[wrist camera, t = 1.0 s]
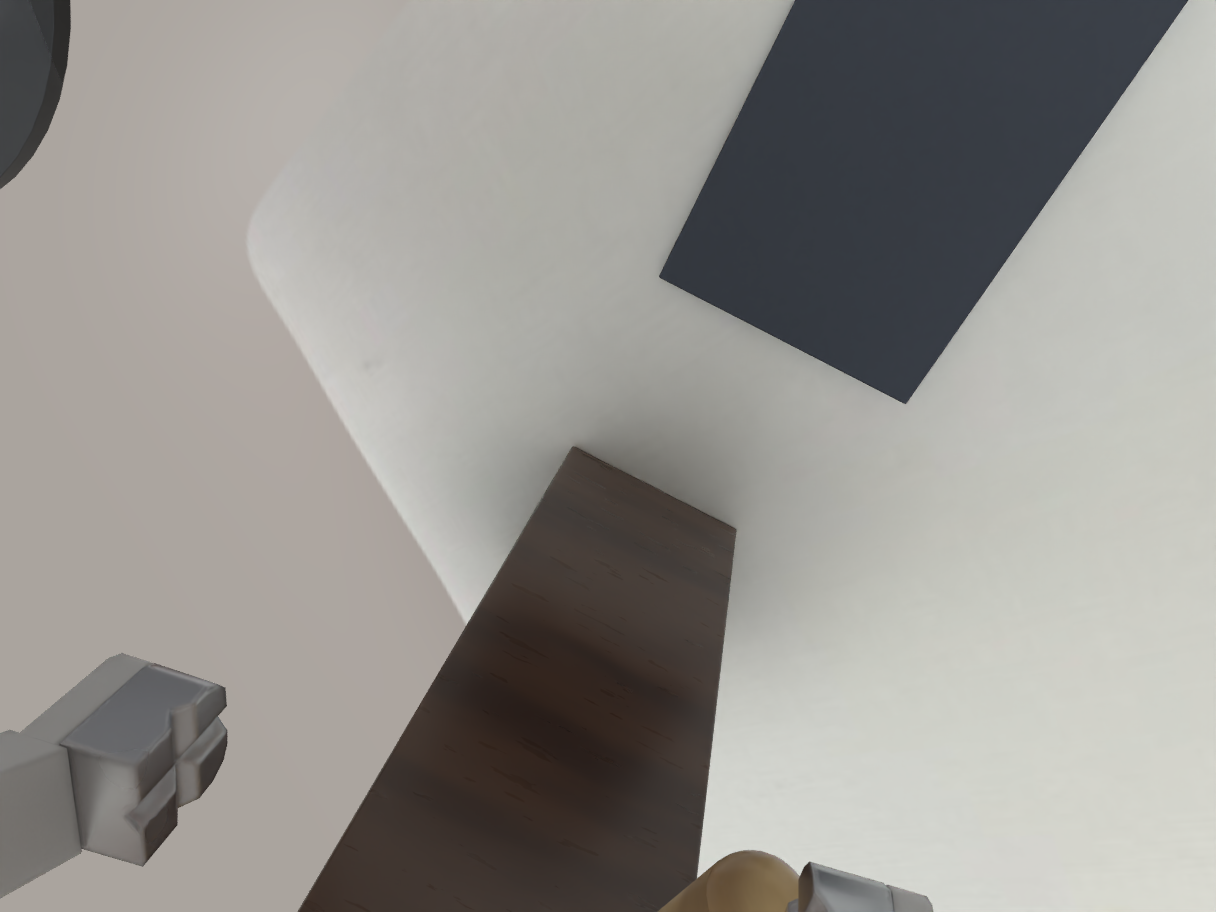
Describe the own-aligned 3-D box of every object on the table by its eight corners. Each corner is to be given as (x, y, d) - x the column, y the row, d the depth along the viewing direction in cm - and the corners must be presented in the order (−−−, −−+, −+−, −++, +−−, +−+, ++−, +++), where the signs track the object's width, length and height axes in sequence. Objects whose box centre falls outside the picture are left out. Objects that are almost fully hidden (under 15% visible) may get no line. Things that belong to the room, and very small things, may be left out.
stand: (572, 445, 40) (276, 945, 17) (737, 529, 40) (668, 1141, 17) (513, 566, 44) (202, 1115, 20) (664, 642, 44) (525, 1276, 21)
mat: (895, -202, 28) (896, -206, 27) (1208, -37, 28) (1215, -39, 28) (660, 274, 36) (658, 277, 35) (904, 400, 36) (906, 404, 36)
